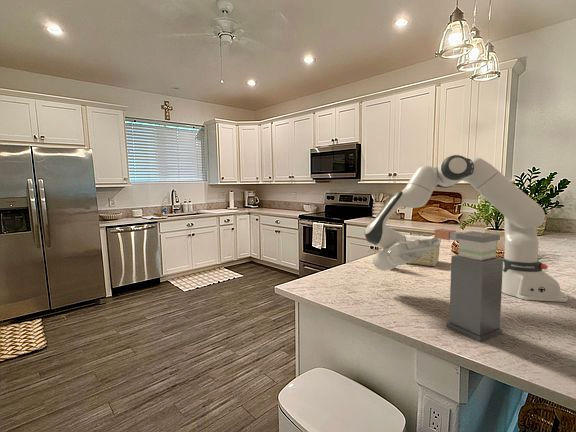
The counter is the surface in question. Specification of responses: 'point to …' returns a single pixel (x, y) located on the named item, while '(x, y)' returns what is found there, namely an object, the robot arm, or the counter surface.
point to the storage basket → (427, 258)
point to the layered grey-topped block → (472, 243)
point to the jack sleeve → (476, 297)
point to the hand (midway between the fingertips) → (428, 240)
